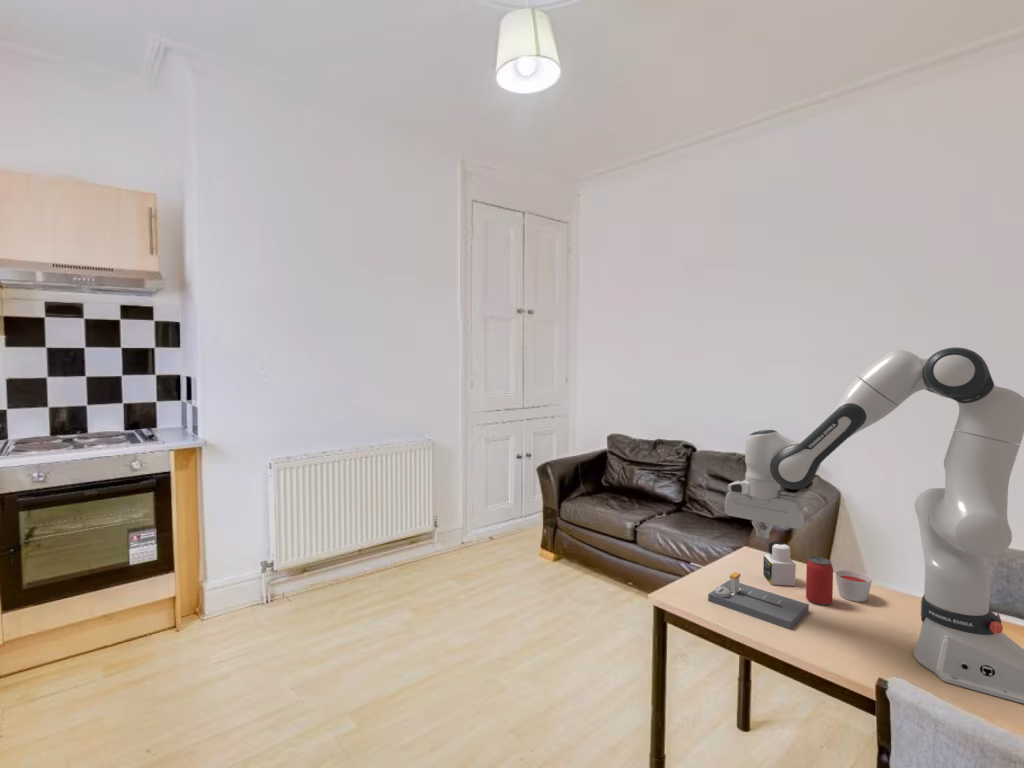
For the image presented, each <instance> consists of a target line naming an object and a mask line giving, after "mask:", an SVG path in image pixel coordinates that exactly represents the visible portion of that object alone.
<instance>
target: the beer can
mask: <svg viewBox="0 0 1024 768" xmlns="http://www.w3.org/2000/svg"><path fill="white" fill-rule="evenodd" d="M805 578H806V580H805V581H806V582H805V599H807V601H808V602H810V603H812V604H815V605H819V606H830V605H831V604H832V603H833V593H834V591H833V590H834V588H833V587H834V584H833V583H834V567H833V565H832V561H831V560H829V559H828V558H826V557H822V556H810V557H809V558H808V561H807V562H806V576H805Z"/></svg>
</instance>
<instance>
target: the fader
mask: <svg viewBox="0 0 1024 768" xmlns="http://www.w3.org/2000/svg"><path fill="white" fill-rule="evenodd" d="M740 578H741V573H740V572H737V571H735V572H733V573H732V574H730V575H729V580H731V592H733V593H735V592H737V591H738V590H739V583H740Z"/></svg>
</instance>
